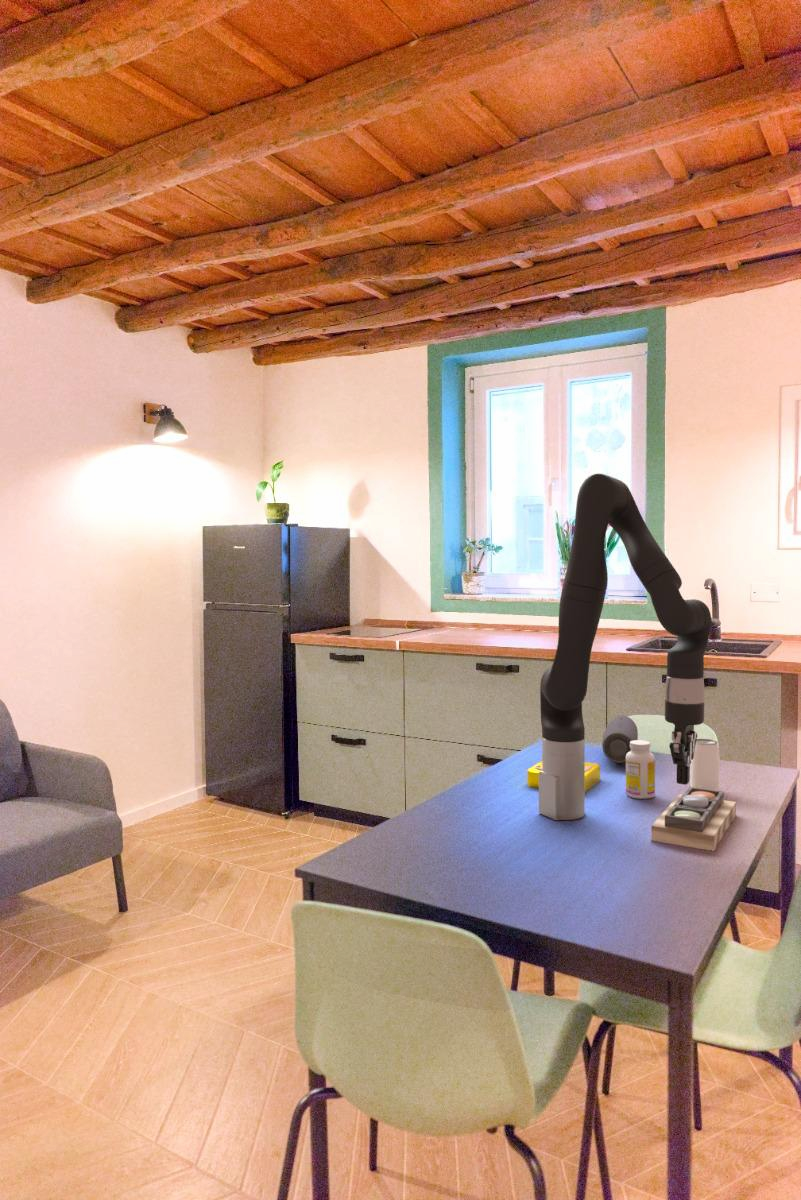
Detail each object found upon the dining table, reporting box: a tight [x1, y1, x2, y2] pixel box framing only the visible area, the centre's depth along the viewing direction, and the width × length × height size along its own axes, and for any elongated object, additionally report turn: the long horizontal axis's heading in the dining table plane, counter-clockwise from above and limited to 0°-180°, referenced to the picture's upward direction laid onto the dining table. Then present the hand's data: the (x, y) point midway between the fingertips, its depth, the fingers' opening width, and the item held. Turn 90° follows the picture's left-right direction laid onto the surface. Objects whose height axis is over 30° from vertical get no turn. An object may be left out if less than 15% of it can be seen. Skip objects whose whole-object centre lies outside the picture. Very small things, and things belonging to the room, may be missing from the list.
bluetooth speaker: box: [601, 715, 639, 764], centre depth 230 cm, size 23×9×10 cm, turn 162°
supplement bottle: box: [625, 739, 656, 800], centre depth 195 cm, size 7×7×13 cm
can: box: [689, 738, 720, 791], centre depth 198 cm, size 6×6×12 cm
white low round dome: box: [683, 795, 708, 809], centre depth 173 cm, size 5×5×2 cm
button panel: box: [650, 786, 737, 852], centre depth 173 cm, size 24×12×5 cm, turn 148°
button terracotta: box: [691, 791, 715, 799], centre depth 179 cm, size 5×5×2 cm
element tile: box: [526, 760, 601, 793], centre depth 207 cm, size 15×15×5 cm
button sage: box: [674, 811, 701, 820], centre depth 166 cm, size 5×5×2 cm
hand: (682, 783), depth 167 cm, fingers closed
